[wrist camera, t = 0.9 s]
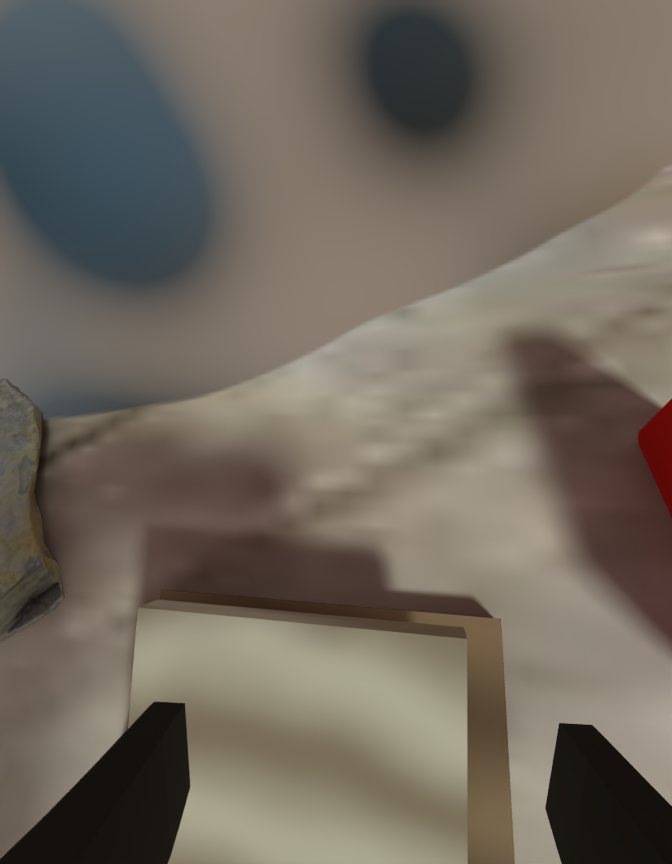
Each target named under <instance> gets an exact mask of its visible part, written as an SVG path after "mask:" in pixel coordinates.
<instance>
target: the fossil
mask: <svg viewBox="0 0 672 864" xmlns="http://www.w3.org/2000/svg"><path fill="white" fill-rule="evenodd" d="M42 419H43V413H42V412H41V411H40V410H39V409H38V407H36V406H35V405H34V404H33V403H32V401H31V400H30V399H29V398H28V397H27V396H26V395H25V394H24V393H22V392H21V391H20V390H19V388H17V387H15V386H14V385H12V384H11V383H10V382H9V381H8V380H7V379H1V380H0V643H1V642H3V641H4V640H6V639H7V638H9V637H10V636H12V635H13V634H15V633H17V632H19V631H20V630H22V629H24V628H25V627H27V626H28V625H30V624H32V623H33V622H35V621H36V620H38V619H40V618H41V617H43V616H44V615H46V614H48V613H49V612H51V611H52V610H53V609H55V608H56V607H57V606H58V605H59V603H60V602H61V601H62V600H63V599H64V592H63V588H62V584H61V581H60V576H59V566H58V563H57V561H55V560H53V558H52V556H51V553H50V551H49V550H48V548H47V546H46V544H45V543H44V539H43V533H44V532H43V526H42V517H41V515H40V511H39V507H38V505H37V503H36V501H35V493H34V492H35V484H36V478H37V470H38V466H39V457H40V448H41V440H42Z"/></svg>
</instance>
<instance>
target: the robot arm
mask: <svg viewBox="0 0 672 864" xmlns="http://www.w3.org/2000/svg"><path fill="white" fill-rule="evenodd" d="M189 790H190V772H189V757H188V741H187V726H186V711H185V703H173V702H153V703H152V704H151V705H150V706H149V707H148V708H147V709H146V710H145V711H144V712H143V713H142V714H141V715H140V717H139V718H138V719H137V720H136V721H135V722H134V723H133V724H132V725H131V726H130V727H129V728H128V730H127V731H126V732H125V733H124V734H123V735H122V736H121V737H120V738H119V739H118V740H117V741H116V743H115V744H114V745H113V746H112V747H111V748H110V749H109V750H108V751H107V752H106V753H105V754H104V755H103V756H102V757H101V759H100V760H99V761H98V762H97V763H96V764H95V765H94V766H93V767H92V768H91V769H90V770H89V771H88V772H87V773H86V774H85V775H84V776H83V777H82V778H81V779H80V780H79V782H78V783H77V784H76V785H75V786H74V787H73V788H72V789H71V790H70V791H69V792H68V793H67V794H66V795H65V796H64V797H63V798H62V799H61V800H60V801H59V802H58V803H57V804H56V805H55V806H54V807H53V808H52V809H51V810H50V811H49V812H48V813H47V814H46V815H45V816H44V817H43V818H42V819H41V820H40V821H39V822H38V823H37V824H36V825H35V826H34V827H33V828H32V829H31V830H30V831H29V832H28V833H27V834H26V835H25V836H24V837H23V838H22V839H21V840H19V841H18V842H17V843H16V844H15V845H14V846H13V847H12V848H11V849H10V850H9V851H8V852H7V853H6V854H5V855H4V856H3V857H2V858H1V859H0V864H168V862H169V859H170V856H171V853H172V850H173V847H174V843H175V840H176V836H177V833H178V830H179V826H180V823H181V819H182V815H183V812H184V808H185V805H186V801H187V797H188V794H189ZM546 812H547V815H548V819H549V822H550V826H551V829H552V833H553V836H554V839H555V843H556V846H557V850H558V853H559V856H560V859H561V862H562V864H672V806H671V805H670V804H669V803H668V802H667V801H666V800H665V799H664V798H663V797H662V796H661V795H660V794H659V793H658V792H657V791H656V790H655V789H654V788H653V787H652V786H651V785H650V784H649V783H648V782H647V781H646V780H645V779H644V778H643V777H642V776H641V774H640V773H639V772H638V771H637V770H636V769H635V768H634V767H633V766H632V765H631V764H630V763H629V762H628V761H627V760H626V759H625V758H624V757H623V756H622V755H621V754H620V753H619V752H618V751H617V750H616V749H615V748H614V747H613V746H612V745H611V744H610V743H609V742H608V740H607V739H606V738H605V737H604V736H603V735H602V734H601V733H600V732H599V731H598V730H597V729H596V728H595V727H594V726H593V725H582V724H564V723H559V728H558V734H557V740H556V746H555V753H554V759H553V765H552V771H551V777H550V783H549V789H548V796H547V802H546Z"/></svg>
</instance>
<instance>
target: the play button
mask: <svg viewBox="0 0 672 864" xmlns="http://www.w3.org/2000/svg"><path fill="white" fill-rule="evenodd" d="M638 440H639V445H640V448H641V450H642V452H643V454H644V457H645V459H646V461H647V463H648V466H649V468H650V470H651V472H652V475H653V477H654V479H655V481H656V483H657V486H658V488H659V490H660V492H661V495H662V497H663V499H664V501H665V503H666V506H667V508H668V510H669V512H670V515H671V517H672V399H671V400H670V401H669V402H668V403H667V404H666V405H665V406H664V407H663V408H662V409H661V410H660V411H659V412H658V413H657V414H656V415H655V416H654V417H653V418H652V419H651V420H650V421H649V422H648V423H647V424H646V425H645V426H644V427H643V428H642V429H641V430H640V431H639V434H638Z"/></svg>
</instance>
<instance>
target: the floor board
mask: <svg viewBox="0 0 672 864" xmlns="http://www.w3.org/2000/svg"><path fill="white" fill-rule="evenodd" d="M160 600H169V601H180V602H191V603H202V604H213V605H224V606H235V607H246V608H257V609H268V610H279V611H290V612H301V613H312V614H323V615H334V616H345V617H356V618H367V619H378V620H389V621H401V622H412V623H423V624H434V625H445V626H456V627H464V629H465V633H466V637H467V825H468V864H515V861H514V843H513V825H512V808H511V790H510V772H509V754H508V736H507V718H506V701H505V683H504V665H503V647H502V629H501V619H497V618H485V617H474V616H462V615H451V614H439V613H427V612H416V611H404V610H392V609H381V608H369V607H358V606H346V605H334V604H323V603H311V602H299V601H288V600H276V599H264V598H253V597H241V596H230V595H218V594H206V593H195V592H183V591H171V590H162V593H161V597H160Z"/></svg>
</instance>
